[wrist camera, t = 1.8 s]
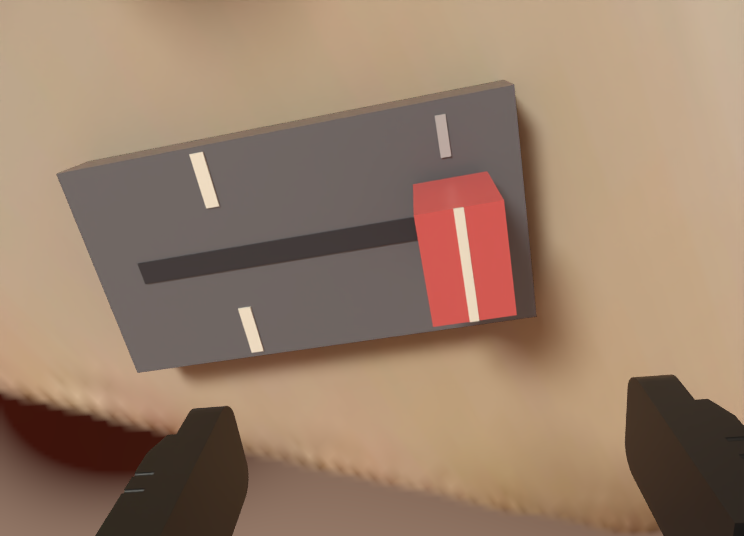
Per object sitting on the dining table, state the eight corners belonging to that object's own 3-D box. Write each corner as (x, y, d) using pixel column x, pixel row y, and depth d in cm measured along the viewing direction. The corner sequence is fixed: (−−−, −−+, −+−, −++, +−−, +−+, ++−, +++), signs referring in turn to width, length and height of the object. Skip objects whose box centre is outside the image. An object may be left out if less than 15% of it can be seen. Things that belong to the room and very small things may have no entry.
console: (503, 80, 28) (514, 84, 25) (525, 292, 33) (536, 317, 30) (87, 161, 31) (55, 174, 28) (158, 346, 36) (136, 373, 33)
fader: (485, 168, 27) (504, 200, 21) (497, 264, 28) (516, 315, 23) (412, 181, 27) (413, 215, 22) (428, 274, 29) (433, 327, 24)
